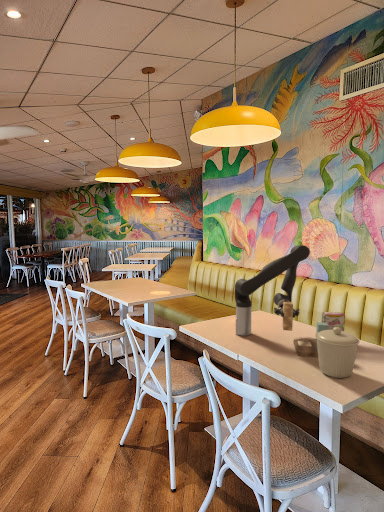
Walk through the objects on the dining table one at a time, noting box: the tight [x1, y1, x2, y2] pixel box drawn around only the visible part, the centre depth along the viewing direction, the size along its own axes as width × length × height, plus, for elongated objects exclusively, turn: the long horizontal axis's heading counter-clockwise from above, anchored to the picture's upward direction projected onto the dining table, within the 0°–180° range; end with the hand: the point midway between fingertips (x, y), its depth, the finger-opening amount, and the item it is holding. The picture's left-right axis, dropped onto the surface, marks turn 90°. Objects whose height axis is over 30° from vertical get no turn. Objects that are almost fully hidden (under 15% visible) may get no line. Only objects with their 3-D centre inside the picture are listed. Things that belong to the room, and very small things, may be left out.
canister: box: [314, 327, 361, 379], centre depth 147 cm, size 18×18×21 cm
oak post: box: [282, 301, 294, 332], centre depth 172 cm, size 4×4×14 cm
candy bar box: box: [321, 311, 346, 331], centre depth 186 cm, size 11×5×16 cm, turn 84°
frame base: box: [292, 321, 328, 358], centre depth 174 cm, size 16×18×16 cm
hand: (288, 315), depth 169 cm, fingers closed on oak post, 4 cm apart
